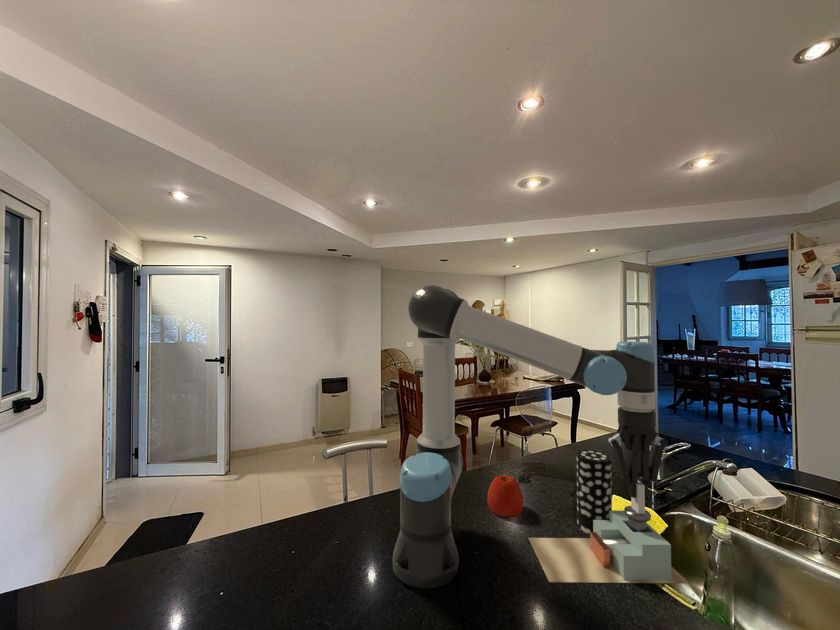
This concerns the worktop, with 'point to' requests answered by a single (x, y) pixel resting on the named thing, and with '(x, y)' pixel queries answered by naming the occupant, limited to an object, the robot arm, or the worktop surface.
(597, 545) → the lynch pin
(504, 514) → the apple
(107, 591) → the worktop surface
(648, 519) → the plunger
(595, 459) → the white-spotted black cylinder
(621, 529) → the block
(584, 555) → the base board
